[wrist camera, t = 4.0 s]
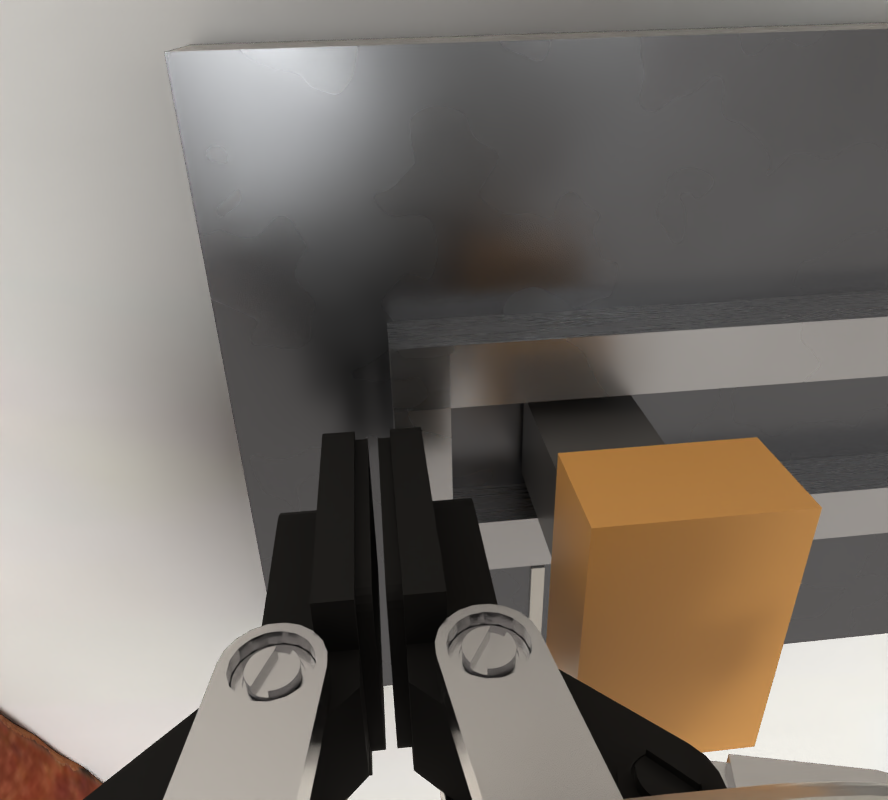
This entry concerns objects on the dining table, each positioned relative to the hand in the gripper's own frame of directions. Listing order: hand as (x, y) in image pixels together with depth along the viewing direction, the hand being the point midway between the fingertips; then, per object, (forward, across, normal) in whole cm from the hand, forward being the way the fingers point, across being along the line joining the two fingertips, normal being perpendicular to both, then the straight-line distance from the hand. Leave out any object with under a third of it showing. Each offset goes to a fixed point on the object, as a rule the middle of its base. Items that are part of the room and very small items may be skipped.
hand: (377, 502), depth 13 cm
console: (+4, -10, 0) cm, 11 cm away
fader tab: (+2, -4, 0) cm, 4 cm away
